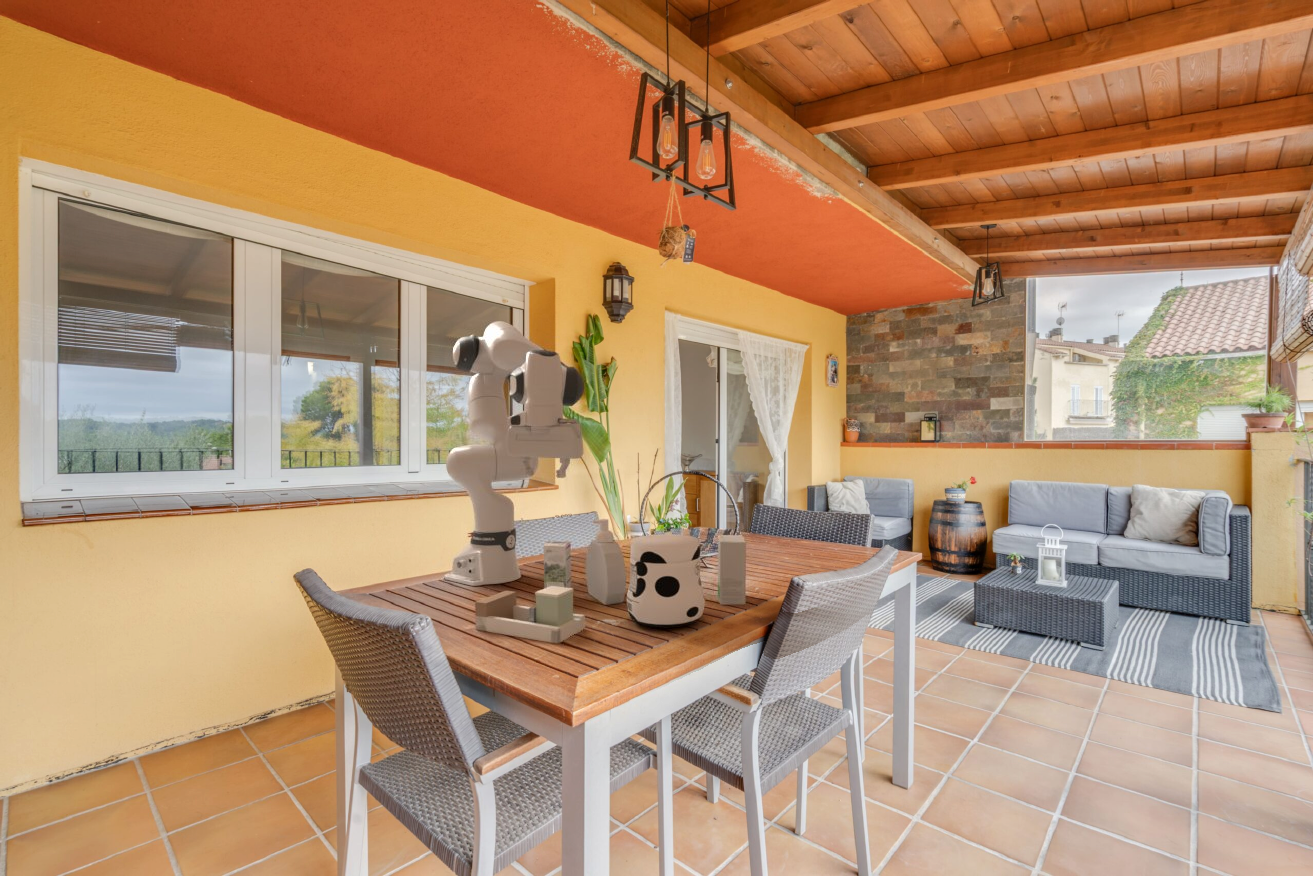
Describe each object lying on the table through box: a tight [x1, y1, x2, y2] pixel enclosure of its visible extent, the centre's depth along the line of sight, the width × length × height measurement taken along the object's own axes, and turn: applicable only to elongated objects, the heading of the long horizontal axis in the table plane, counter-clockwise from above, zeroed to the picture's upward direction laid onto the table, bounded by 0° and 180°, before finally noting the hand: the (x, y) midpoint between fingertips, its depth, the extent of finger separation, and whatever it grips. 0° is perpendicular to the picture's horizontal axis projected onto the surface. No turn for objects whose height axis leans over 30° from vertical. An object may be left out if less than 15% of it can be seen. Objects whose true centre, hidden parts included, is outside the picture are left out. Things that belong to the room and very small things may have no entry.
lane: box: [474, 590, 586, 645], centre depth 132 cm, size 22×10×6 cm, turn 63°
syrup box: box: [543, 540, 572, 589], centre depth 154 cm, size 6×6×14 cm
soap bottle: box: [585, 518, 627, 606], centre depth 155 cm, size 16×5×20 cm, turn 26°
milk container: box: [626, 533, 706, 629], centre depth 136 cm, size 17×17×18 cm
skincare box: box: [717, 534, 747, 606], centre depth 151 cm, size 8×7×16 cm
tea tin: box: [534, 586, 574, 627], centre depth 129 cm, size 6×6×9 cm
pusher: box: [523, 604, 536, 623], centre depth 131 cm, size 4×7×6 cm, turn 153°
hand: (544, 476), depth 146 cm, fingers open, 8 cm apart
